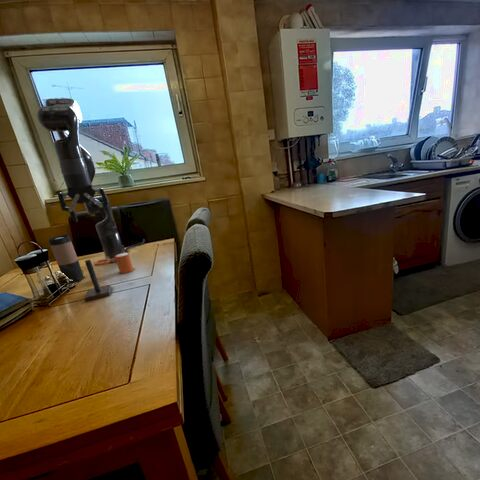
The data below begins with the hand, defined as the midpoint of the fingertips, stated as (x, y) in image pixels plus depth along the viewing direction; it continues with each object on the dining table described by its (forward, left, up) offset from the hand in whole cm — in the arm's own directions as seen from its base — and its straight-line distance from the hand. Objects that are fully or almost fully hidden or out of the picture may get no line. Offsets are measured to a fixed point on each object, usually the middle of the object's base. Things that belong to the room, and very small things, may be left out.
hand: (90, 219), depth 101 cm
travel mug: (-24, -18, -28) cm, 41 cm away
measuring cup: (-19, 0, -28) cm, 34 cm away
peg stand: (+2, -5, -28) cm, 29 cm away
